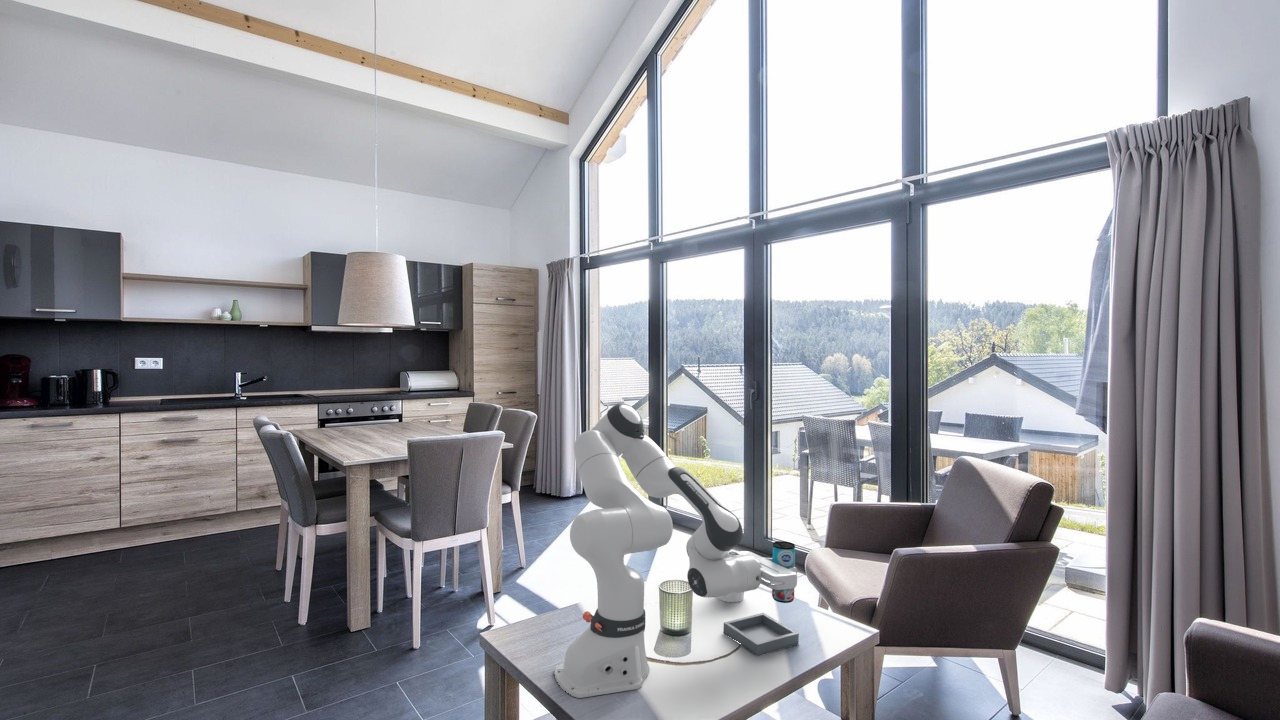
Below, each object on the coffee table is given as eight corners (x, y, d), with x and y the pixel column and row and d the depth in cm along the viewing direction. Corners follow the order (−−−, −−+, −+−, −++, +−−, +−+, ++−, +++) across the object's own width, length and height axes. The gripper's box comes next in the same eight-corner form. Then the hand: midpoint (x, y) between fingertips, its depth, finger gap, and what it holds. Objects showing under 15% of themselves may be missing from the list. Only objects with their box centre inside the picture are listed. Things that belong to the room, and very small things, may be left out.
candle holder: (752, 599, 189) (753, 561, 189) (728, 605, 184) (729, 566, 184) (731, 588, 198) (732, 551, 197) (707, 594, 192) (708, 556, 192)
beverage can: (774, 603, 163) (775, 548, 163) (769, 594, 169) (770, 541, 169) (796, 604, 163) (797, 548, 163) (791, 595, 169) (792, 541, 169)
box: (757, 656, 154) (757, 644, 154) (723, 633, 166) (723, 622, 166) (798, 644, 161) (798, 633, 161) (763, 623, 173) (763, 612, 173)
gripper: (772, 574, 150) (814, 566, 157) (723, 549, 168) (762, 543, 175) (771, 599, 150) (813, 590, 157) (722, 572, 168) (761, 565, 175)
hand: (785, 565), depth 166 cm, fingers closed on beverage can, 6 cm apart
